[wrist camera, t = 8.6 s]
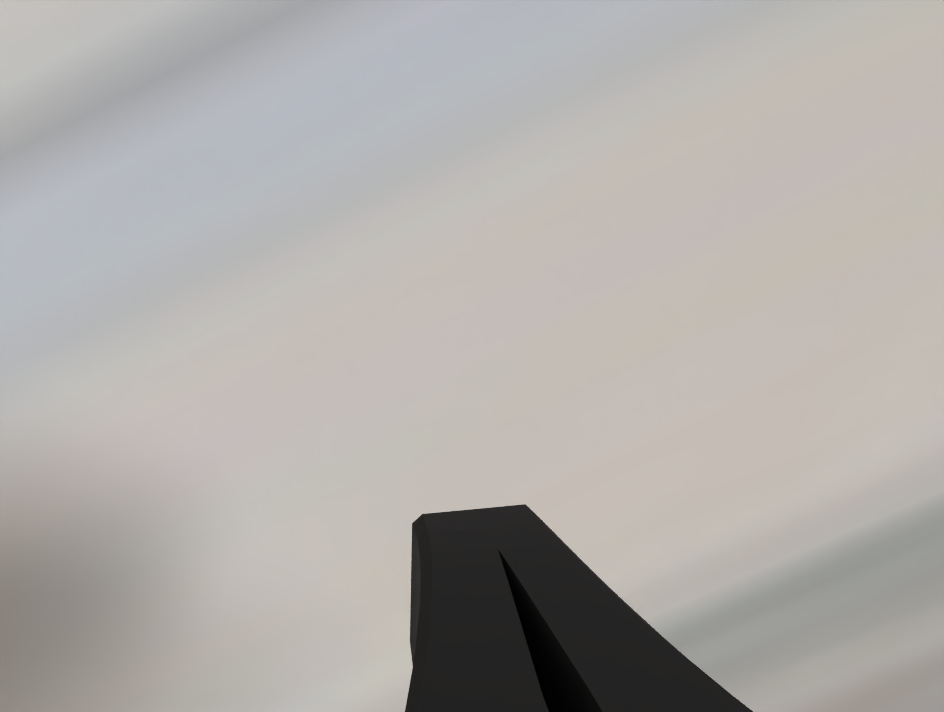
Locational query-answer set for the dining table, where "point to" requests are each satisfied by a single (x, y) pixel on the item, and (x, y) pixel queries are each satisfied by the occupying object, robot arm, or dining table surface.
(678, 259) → the dining table surface
